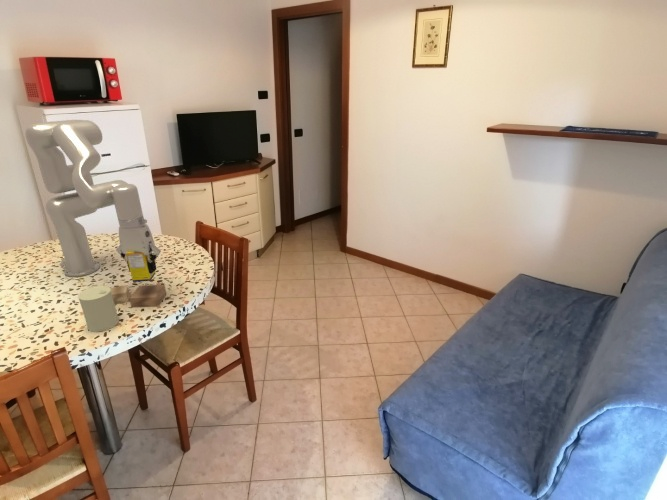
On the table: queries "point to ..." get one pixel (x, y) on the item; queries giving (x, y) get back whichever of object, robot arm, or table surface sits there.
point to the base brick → (148, 296)
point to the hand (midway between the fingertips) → (142, 270)
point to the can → (98, 308)
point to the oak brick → (120, 294)
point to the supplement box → (139, 266)
